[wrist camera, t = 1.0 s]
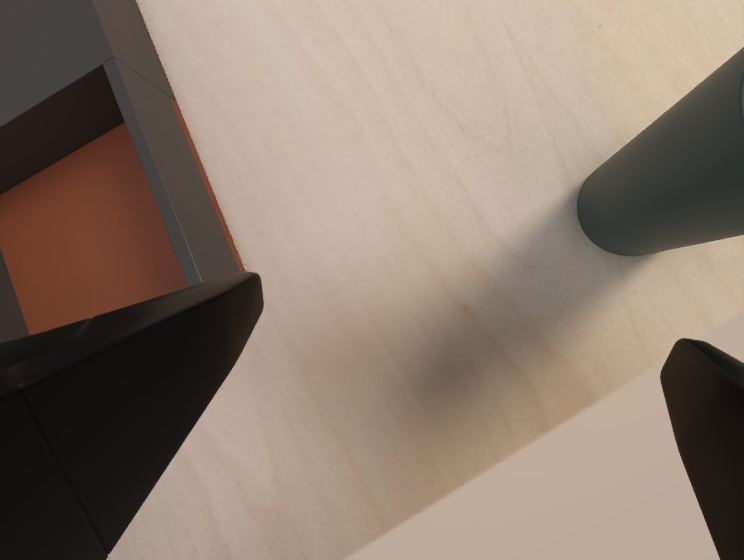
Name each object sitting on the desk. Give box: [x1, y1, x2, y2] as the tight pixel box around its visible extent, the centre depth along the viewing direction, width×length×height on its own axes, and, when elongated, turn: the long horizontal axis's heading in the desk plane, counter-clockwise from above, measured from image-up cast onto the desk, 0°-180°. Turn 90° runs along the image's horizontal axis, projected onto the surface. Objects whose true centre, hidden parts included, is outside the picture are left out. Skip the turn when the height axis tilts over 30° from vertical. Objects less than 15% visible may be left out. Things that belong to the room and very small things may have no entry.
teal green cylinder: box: [578, 47, 744, 256], centre depth 15 cm, size 5×5×12 cm
